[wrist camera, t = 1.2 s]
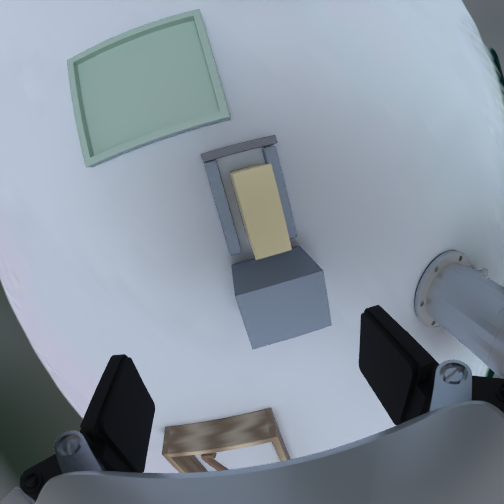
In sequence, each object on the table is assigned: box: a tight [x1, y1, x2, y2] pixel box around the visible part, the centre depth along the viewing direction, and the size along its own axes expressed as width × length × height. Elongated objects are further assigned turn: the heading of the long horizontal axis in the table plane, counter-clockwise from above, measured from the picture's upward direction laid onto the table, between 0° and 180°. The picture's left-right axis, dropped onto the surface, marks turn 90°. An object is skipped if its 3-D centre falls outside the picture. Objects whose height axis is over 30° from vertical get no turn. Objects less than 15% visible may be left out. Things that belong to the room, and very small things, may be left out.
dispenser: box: [201, 135, 331, 349], centre depth 27 cm, size 8×18×8 cm, turn 15°
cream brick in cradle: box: [229, 164, 292, 260], centre depth 26 cm, size 3×7×9 cm, turn 15°
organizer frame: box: [162, 408, 290, 473], centre depth 42 cm, size 18×34×6 cm, turn 15°
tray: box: [67, 9, 230, 167], centre depth 24 cm, size 16×14×2 cm
